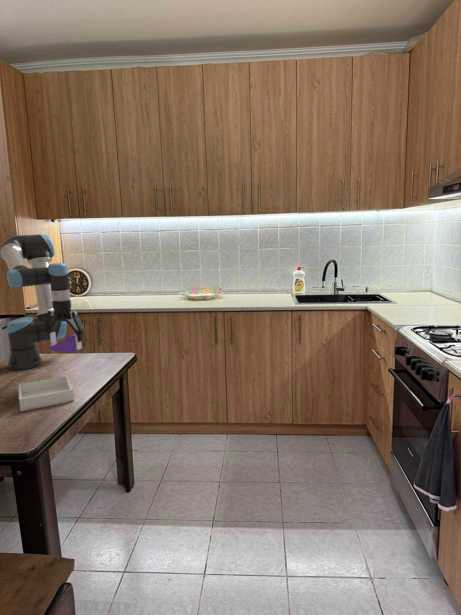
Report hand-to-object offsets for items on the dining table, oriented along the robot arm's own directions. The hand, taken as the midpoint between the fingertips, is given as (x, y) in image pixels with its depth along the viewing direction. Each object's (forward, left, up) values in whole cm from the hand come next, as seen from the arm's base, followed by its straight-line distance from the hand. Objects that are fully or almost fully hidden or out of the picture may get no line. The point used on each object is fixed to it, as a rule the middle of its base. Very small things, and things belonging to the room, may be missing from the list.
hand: (66, 348), depth 193 cm
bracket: (0, 0, -1) cm, 1 cm away
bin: (+19, -11, -14) cm, 26 cm away
